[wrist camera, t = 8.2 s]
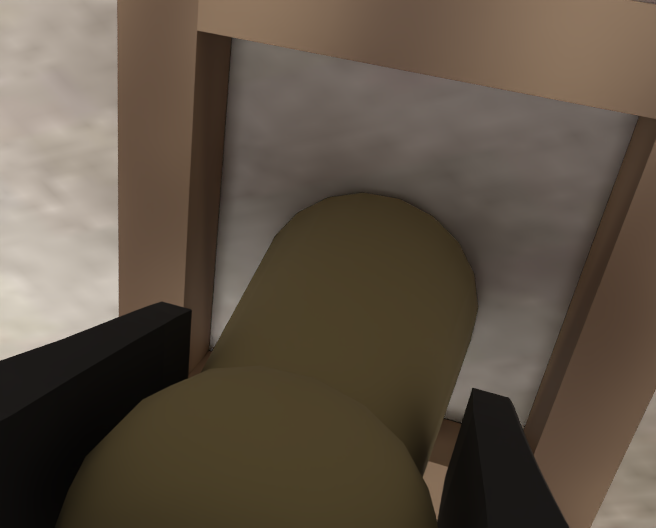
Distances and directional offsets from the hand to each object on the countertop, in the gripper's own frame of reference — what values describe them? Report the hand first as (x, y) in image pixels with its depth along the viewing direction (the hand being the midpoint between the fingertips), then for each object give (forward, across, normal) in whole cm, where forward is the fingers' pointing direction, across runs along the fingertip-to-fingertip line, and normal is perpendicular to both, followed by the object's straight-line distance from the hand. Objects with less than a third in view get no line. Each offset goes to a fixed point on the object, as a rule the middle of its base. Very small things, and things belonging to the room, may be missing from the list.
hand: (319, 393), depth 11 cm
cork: (+6, 0, +1) cm, 6 cm away
